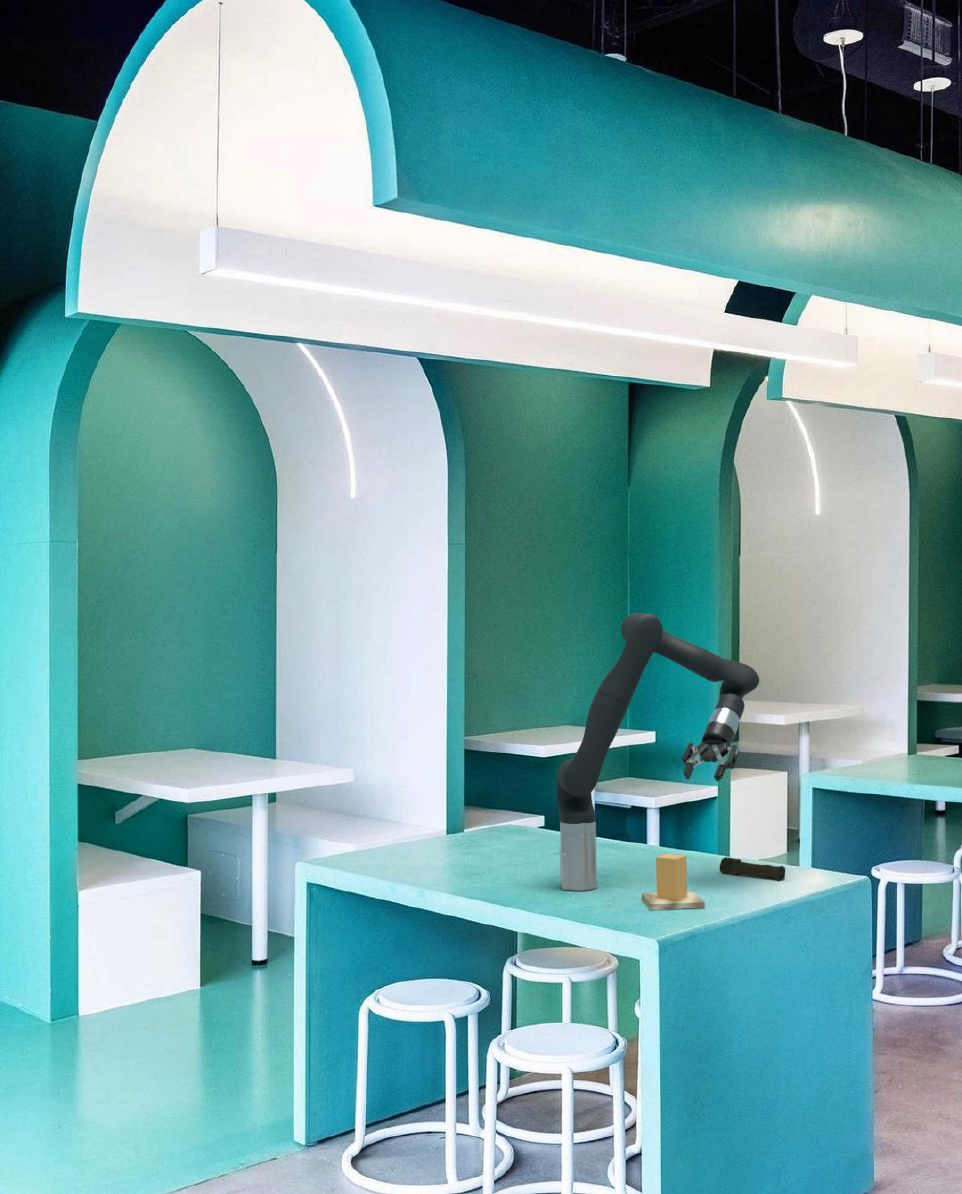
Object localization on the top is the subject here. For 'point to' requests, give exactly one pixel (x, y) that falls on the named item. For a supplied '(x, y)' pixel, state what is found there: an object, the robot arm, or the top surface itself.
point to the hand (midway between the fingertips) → (701, 778)
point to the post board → (672, 902)
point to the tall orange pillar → (671, 877)
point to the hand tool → (751, 869)
